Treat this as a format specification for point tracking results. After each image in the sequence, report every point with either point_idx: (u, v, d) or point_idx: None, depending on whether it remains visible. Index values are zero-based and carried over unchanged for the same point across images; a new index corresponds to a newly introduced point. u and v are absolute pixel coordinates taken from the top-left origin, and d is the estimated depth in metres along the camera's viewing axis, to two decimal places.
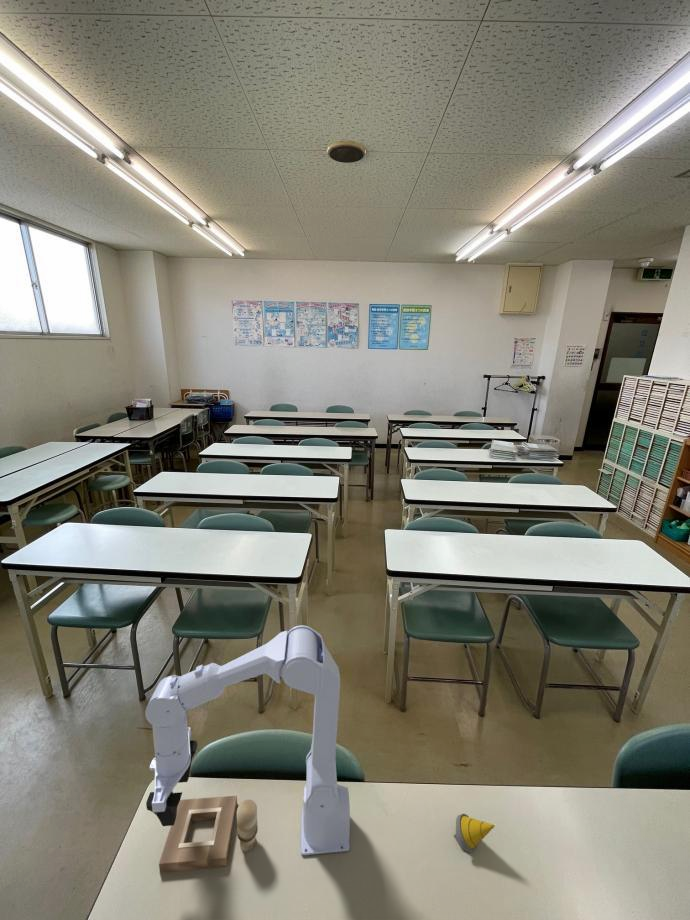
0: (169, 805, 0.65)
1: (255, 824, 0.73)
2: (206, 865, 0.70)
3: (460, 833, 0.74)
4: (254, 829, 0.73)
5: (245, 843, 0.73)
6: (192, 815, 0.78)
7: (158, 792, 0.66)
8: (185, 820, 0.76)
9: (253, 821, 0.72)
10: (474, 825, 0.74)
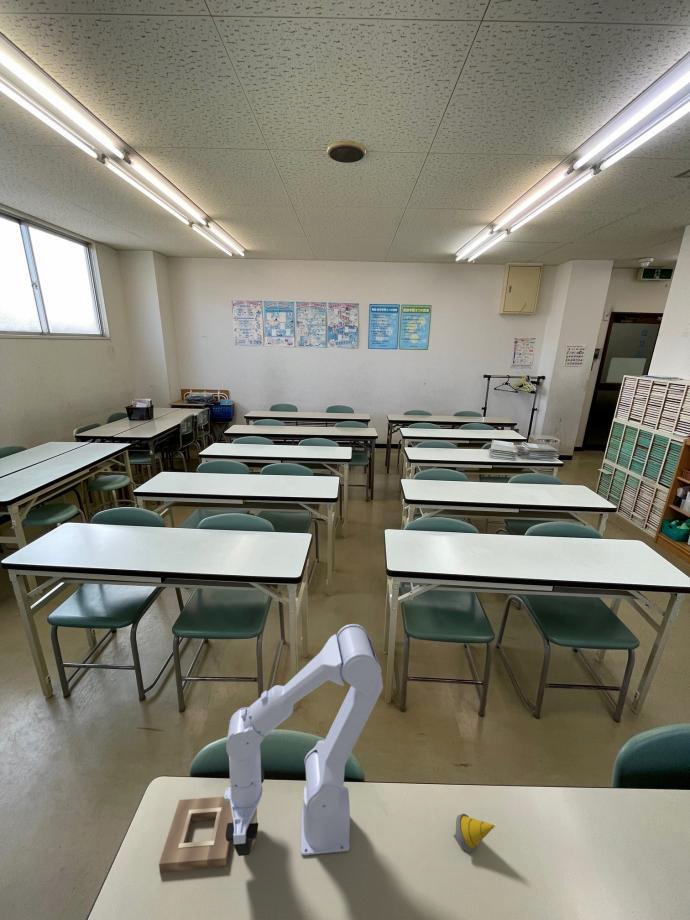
0: (248, 836, 0.67)
1: None
2: (206, 865, 0.70)
3: (460, 833, 0.74)
4: None
5: None
6: (192, 815, 0.78)
7: (237, 824, 0.67)
8: (185, 820, 0.76)
9: (253, 821, 0.72)
10: (474, 825, 0.74)
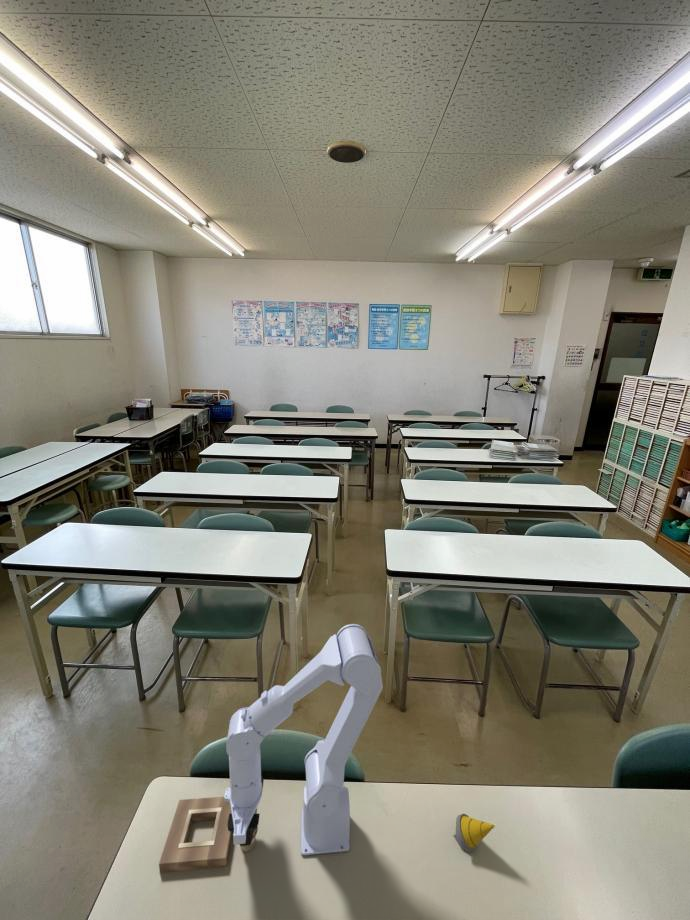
0: (249, 826, 0.69)
1: None
2: (206, 865, 0.70)
3: (460, 833, 0.74)
4: None
5: None
6: (192, 815, 0.78)
7: (237, 824, 0.67)
8: (185, 820, 0.76)
9: None
10: (474, 826, 0.74)
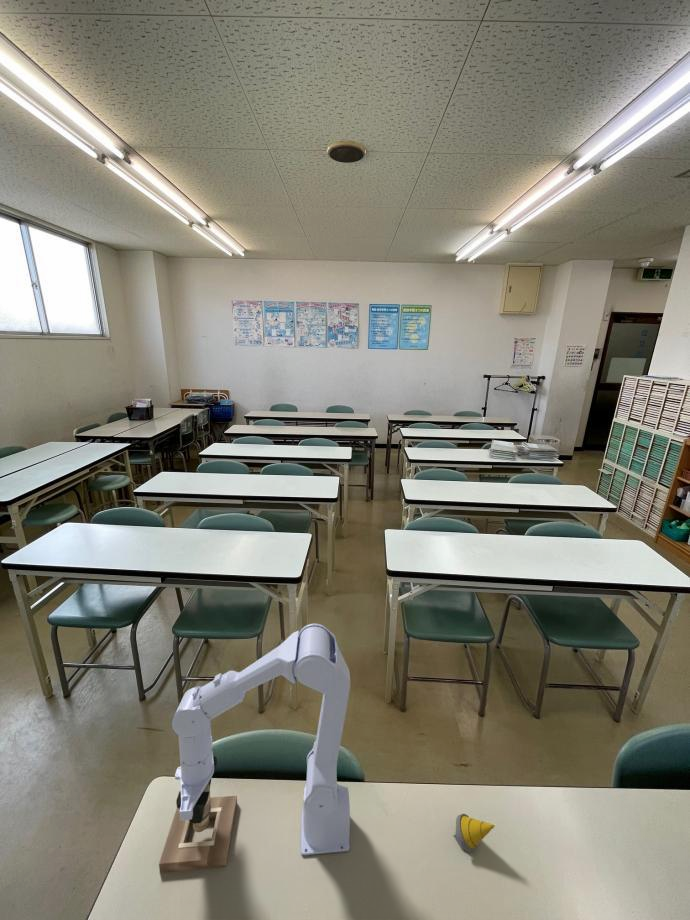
0: (198, 803, 0.69)
1: (207, 805, 0.73)
2: (206, 865, 0.70)
3: (460, 833, 0.74)
4: (206, 810, 0.73)
5: (197, 823, 0.73)
6: None
7: (184, 800, 0.68)
8: (185, 820, 0.76)
9: None
10: (474, 826, 0.74)
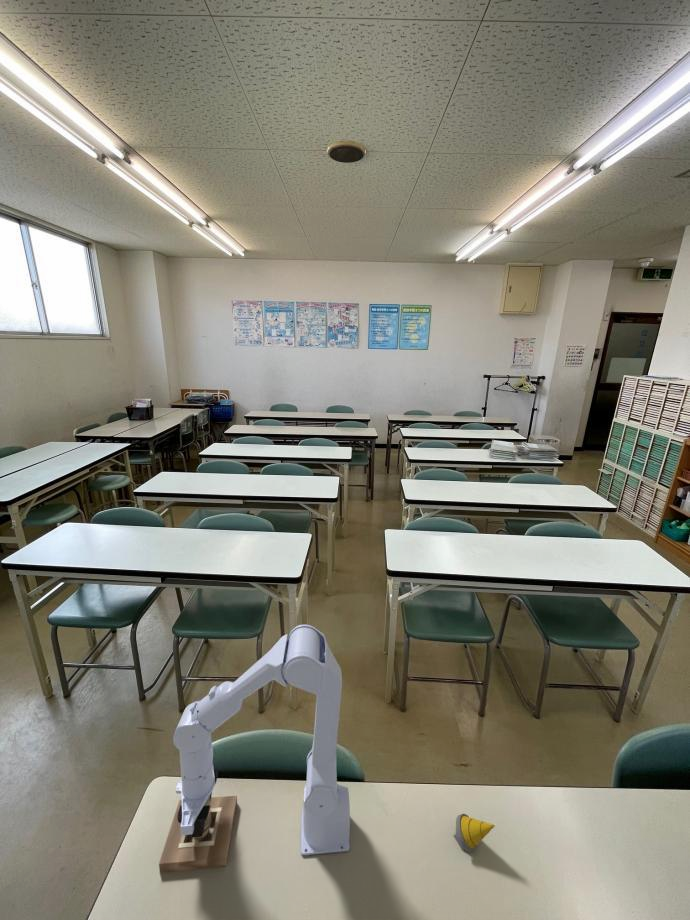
0: (199, 818, 0.70)
1: (208, 817, 0.74)
2: (206, 865, 0.70)
3: (460, 833, 0.74)
4: (206, 822, 0.74)
5: None
6: None
7: (185, 815, 0.68)
8: None
9: None
10: (474, 825, 0.74)
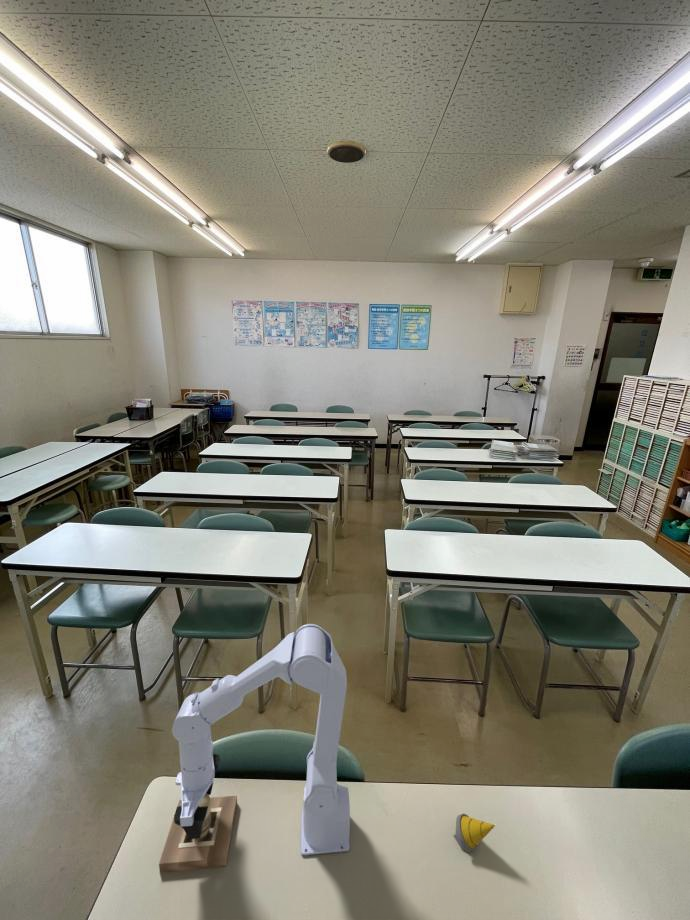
0: (196, 819, 0.68)
1: (208, 817, 0.74)
2: (206, 865, 0.70)
3: (460, 833, 0.74)
4: (206, 822, 0.74)
5: None
6: None
7: (185, 806, 0.68)
8: None
9: None
10: (474, 825, 0.74)
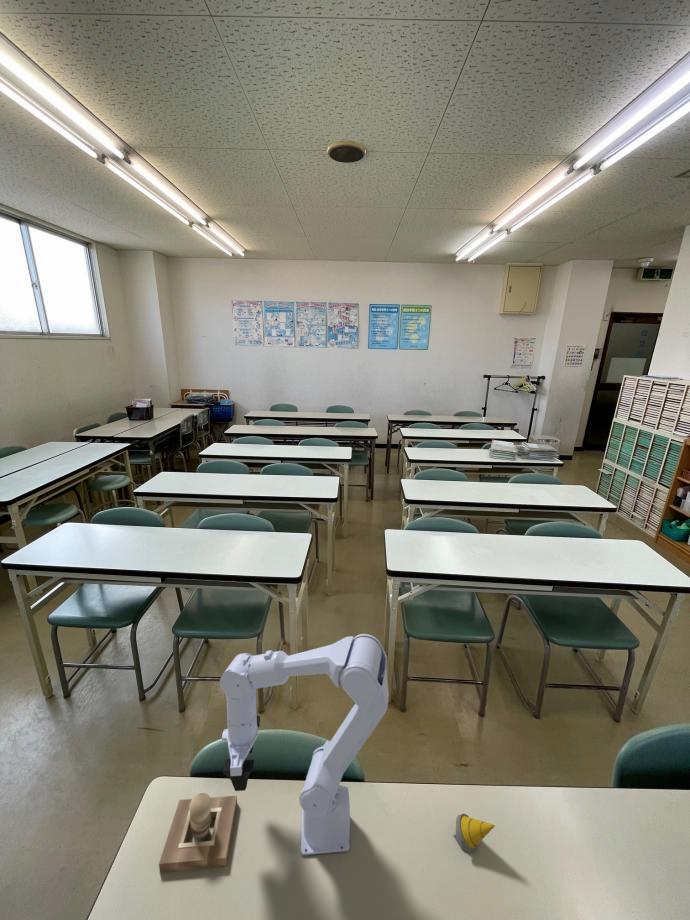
0: (244, 770, 0.71)
1: (208, 817, 0.74)
2: (206, 865, 0.70)
3: (460, 833, 0.74)
4: (206, 822, 0.74)
5: (197, 835, 0.74)
6: None
7: (234, 758, 0.72)
8: (185, 820, 0.76)
9: (204, 814, 0.73)
10: (474, 826, 0.74)
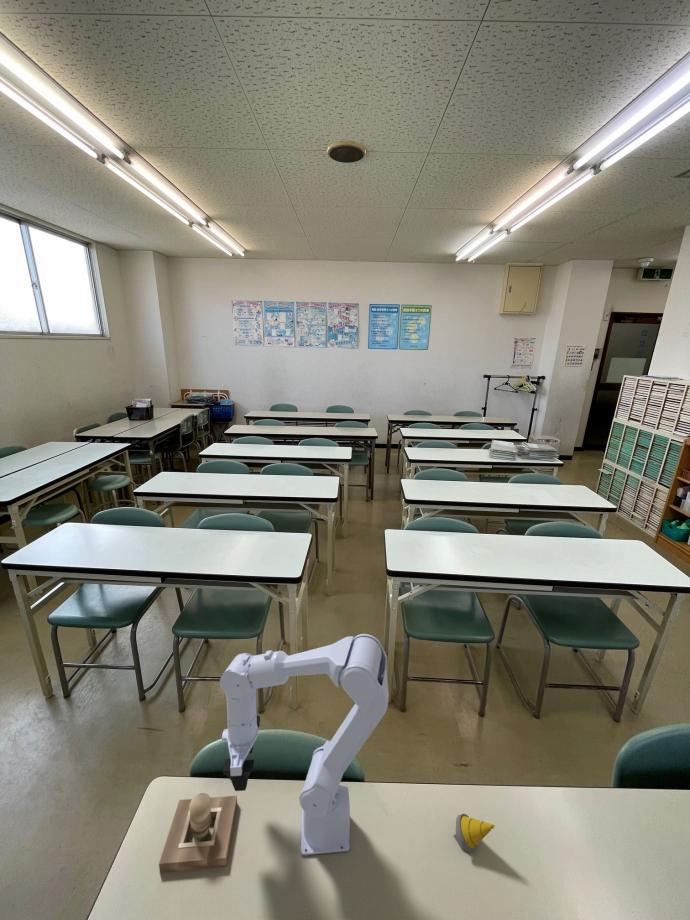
0: (244, 770, 0.71)
1: (207, 817, 0.74)
2: (206, 865, 0.70)
3: (460, 833, 0.74)
4: (206, 822, 0.74)
5: (197, 835, 0.74)
6: None
7: (234, 758, 0.72)
8: (185, 820, 0.76)
9: (204, 814, 0.73)
10: (474, 826, 0.74)
